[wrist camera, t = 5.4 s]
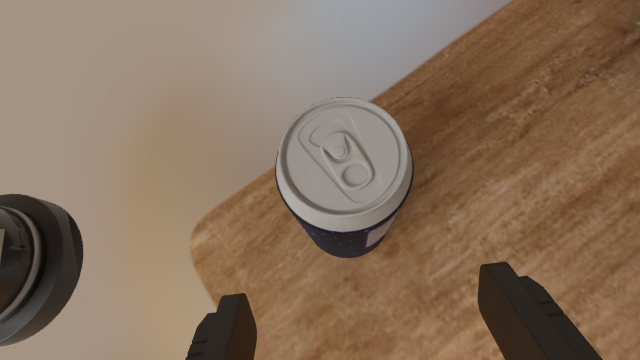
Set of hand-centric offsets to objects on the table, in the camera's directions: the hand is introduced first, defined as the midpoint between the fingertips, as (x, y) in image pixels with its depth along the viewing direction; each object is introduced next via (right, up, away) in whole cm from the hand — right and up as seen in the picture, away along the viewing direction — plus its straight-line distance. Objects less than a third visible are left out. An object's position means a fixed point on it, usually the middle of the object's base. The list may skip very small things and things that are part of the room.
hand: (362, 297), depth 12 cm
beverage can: (+1, +1, +13) cm, 13 cm away
